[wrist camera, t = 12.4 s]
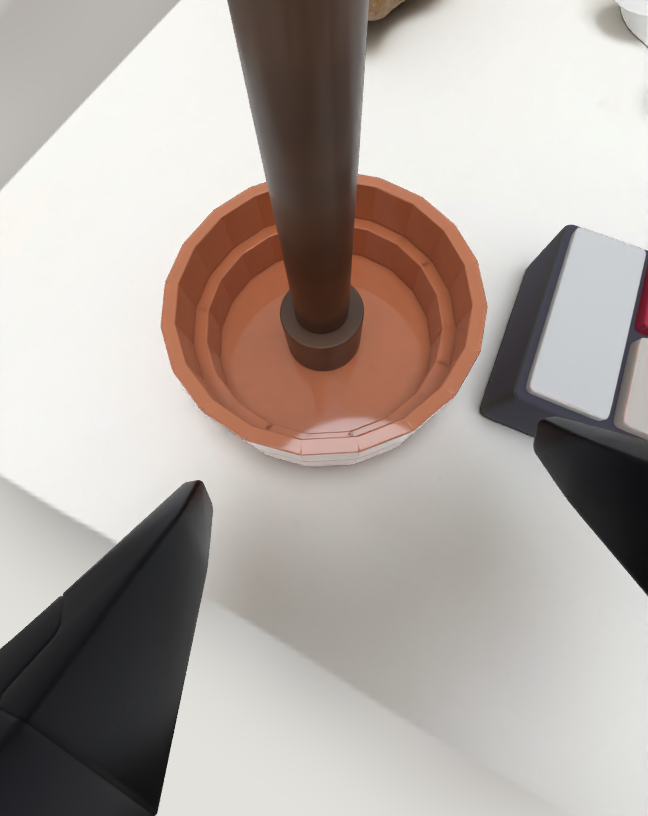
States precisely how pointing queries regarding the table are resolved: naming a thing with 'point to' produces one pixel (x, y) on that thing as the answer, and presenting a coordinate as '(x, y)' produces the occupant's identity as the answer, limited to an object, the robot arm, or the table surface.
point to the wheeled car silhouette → (636, 17)
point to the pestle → (310, 158)
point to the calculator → (577, 339)
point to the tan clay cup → (381, 8)
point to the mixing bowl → (380, 338)
